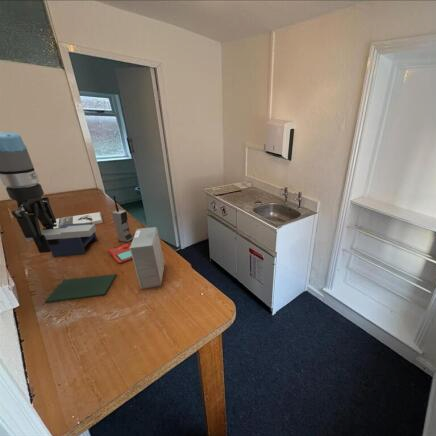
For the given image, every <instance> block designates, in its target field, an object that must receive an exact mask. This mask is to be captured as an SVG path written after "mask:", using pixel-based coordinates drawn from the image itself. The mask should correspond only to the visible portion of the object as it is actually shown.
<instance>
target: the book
mask: <svg viewBox="0 0 436 436" xmlns="http://www.w3.org/2000/svg"><path fill="white" fill-rule="evenodd" d="M55 219H56V223H54V224H57V226H56V227H53V228H54V229H58V228H59V227H60V226H61V225H63V224H77V223H92V224H95V225H100V224H103V223H104V221H103V220H104V219H103V216H102V213H101V211H97V212H92V213H85V214H78V215H73V216H72V215H71V216H65V217H59V218H55Z"/></svg>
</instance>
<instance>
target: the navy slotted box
mask: <svg viewBox="0 0 436 436" xmlns="http://www.w3.org/2000/svg"><path fill="white" fill-rule="evenodd" d="M79 225H93V224H92V223H77V224H63V225H61V226H60V227H59V228H58V229H61V228H67V227H68V226H79ZM58 240H59V244H56V245H49V243H48V241H47V243H48V245H49V247H50V250H51V251H50V253H51V254H52V257H53V258H57V257H68V256H78V255H86V254H87V252H86V249H85V247H86V246H87V245H88V244H89V243H90V242H95V241H98V237H97V234H96V231H95V232H94V233H93V234H92V235H91V236H89V237H77V238H65V239H63V238H62V239H58Z"/></svg>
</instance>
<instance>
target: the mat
mask: <svg viewBox="0 0 436 436" xmlns="http://www.w3.org/2000/svg"><path fill="white" fill-rule="evenodd" d="M117 276H118V275H117V273H113V274H112V273H111V274H103V275H94V276H86V277H85V276H83V277H76V278H68V279H67V278H66V279H63V280H62V281H61V282H60V284H58V286H57V287H56V288H55V289H54V290H53V292H51V294H50V295H49V297H47V298H46V300H45V301H44V302H45V304H48V303H49V304H50V303H56V302H65V301H72V300H79V299H87V298H88V299H89V298H93V297H102V296H106V295H107V293H108V291H109V290H110V288H111V286H112V284H113V283H114V281H115V279H116V278H117Z"/></svg>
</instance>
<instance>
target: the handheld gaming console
mask: <svg viewBox="0 0 436 436" xmlns="http://www.w3.org/2000/svg"><path fill="white" fill-rule="evenodd" d="M130 246H131V244H129V243H128V242H126V243H123V244H121V245H118V246H114V247H112V248H108V249H107V253H108V254H109V256H111V257H112V259H114V260H115V262H116V263H117V264H119V265H121V264H123V263H127V262H129V261H133V259H132V255H131V251H130Z"/></svg>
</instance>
